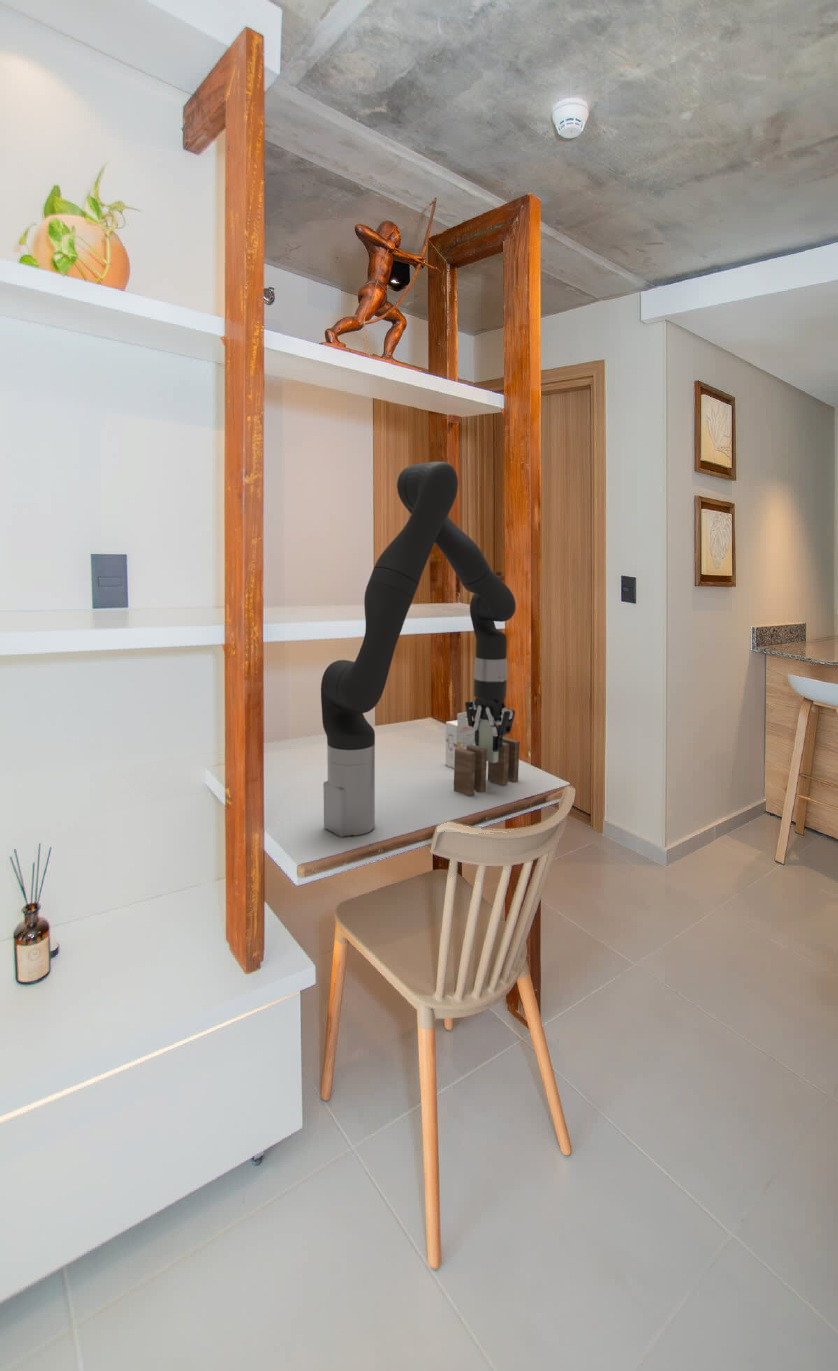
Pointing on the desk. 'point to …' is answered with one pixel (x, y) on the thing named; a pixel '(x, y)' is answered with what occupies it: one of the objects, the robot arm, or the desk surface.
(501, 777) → the domino
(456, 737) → the ink cartridge box
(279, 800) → the desk surface
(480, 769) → the domino
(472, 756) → the domino
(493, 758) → the gap domino
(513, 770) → the domino
